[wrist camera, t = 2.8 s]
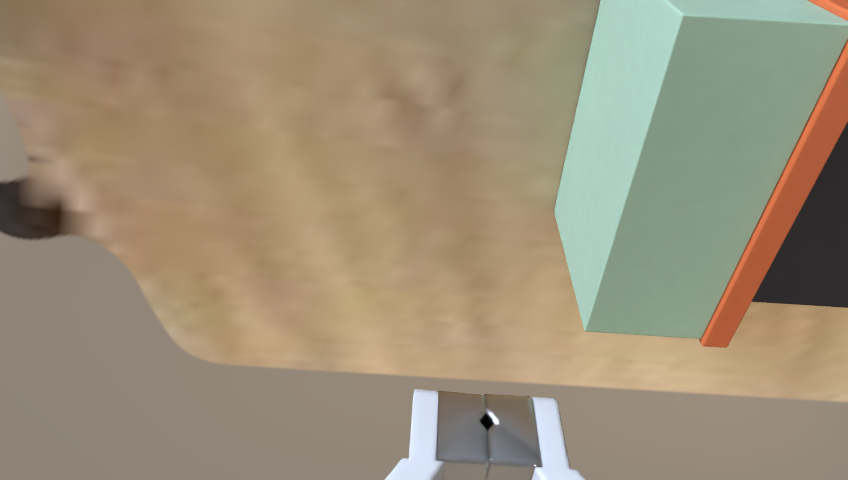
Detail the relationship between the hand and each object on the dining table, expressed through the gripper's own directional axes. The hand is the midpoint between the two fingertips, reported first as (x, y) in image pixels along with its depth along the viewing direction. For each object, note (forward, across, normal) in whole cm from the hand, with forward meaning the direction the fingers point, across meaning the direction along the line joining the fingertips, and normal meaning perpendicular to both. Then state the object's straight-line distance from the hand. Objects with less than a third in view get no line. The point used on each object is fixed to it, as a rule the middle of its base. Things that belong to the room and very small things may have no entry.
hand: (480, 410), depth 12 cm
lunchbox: (+17, -8, 0) cm, 19 cm away
